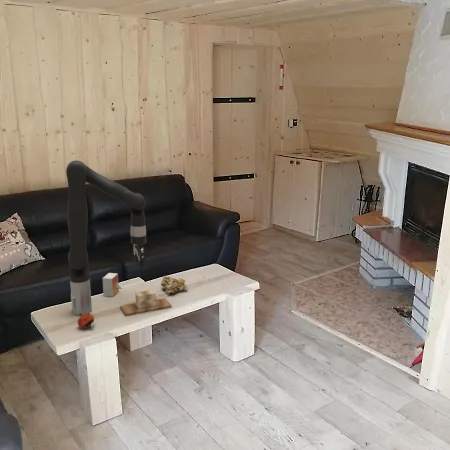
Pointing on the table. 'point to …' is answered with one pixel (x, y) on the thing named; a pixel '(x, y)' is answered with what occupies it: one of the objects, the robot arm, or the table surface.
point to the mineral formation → (172, 284)
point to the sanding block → (145, 299)
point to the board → (133, 309)
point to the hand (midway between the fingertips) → (139, 264)
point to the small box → (110, 284)
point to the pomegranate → (85, 320)
